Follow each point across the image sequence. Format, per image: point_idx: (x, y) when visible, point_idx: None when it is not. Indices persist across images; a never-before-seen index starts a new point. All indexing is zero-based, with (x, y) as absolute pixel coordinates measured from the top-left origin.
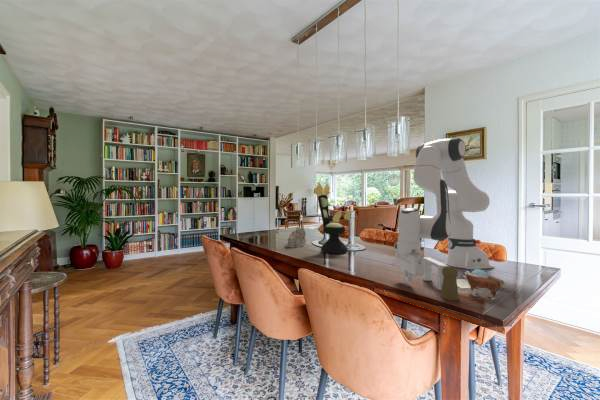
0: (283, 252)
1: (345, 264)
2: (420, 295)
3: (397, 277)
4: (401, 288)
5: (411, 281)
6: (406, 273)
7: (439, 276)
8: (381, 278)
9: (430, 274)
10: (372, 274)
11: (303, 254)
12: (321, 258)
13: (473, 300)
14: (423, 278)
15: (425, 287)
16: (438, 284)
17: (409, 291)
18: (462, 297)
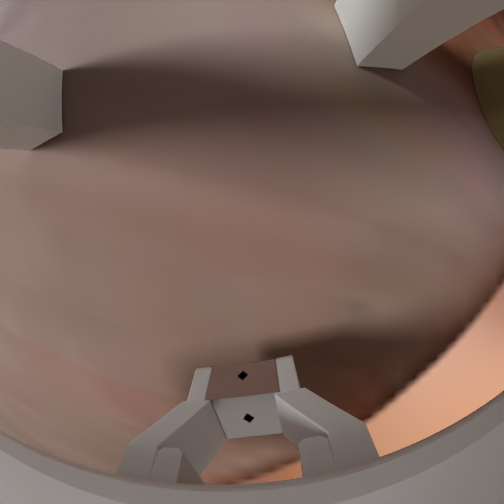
0: None
1: None
2: (493, 294)
3: (44, 362)
4: (352, 407)
5: (293, 361)
6: (201, 455)
7: (476, 6)
8: (118, 455)
9: (23, 60)
10: (67, 454)
11: None
12: None
13: (497, 20)
14: (33, 141)
15: (325, 179)
16: (395, 46)
17: (424, 359)
18: (483, 32)
